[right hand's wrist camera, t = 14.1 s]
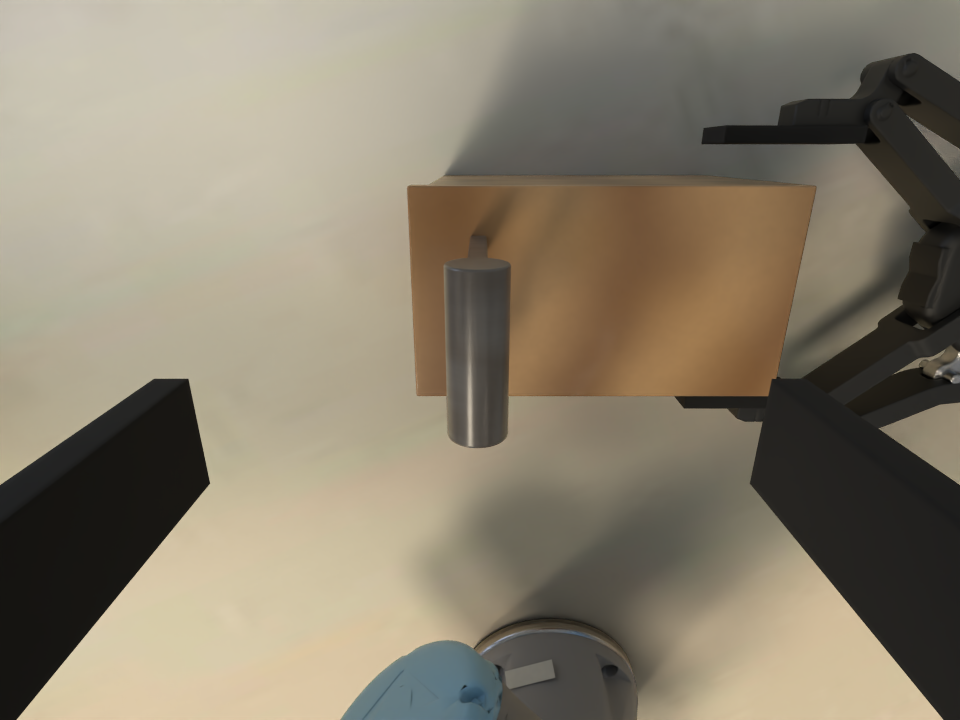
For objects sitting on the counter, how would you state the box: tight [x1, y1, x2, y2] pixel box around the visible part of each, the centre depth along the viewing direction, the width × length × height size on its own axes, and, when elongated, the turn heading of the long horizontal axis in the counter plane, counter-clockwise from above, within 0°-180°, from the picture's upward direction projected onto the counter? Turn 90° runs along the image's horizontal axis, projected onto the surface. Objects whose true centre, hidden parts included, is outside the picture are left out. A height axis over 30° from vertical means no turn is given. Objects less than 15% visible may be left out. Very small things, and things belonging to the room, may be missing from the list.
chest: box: [429, 175, 801, 185], centre depth 30 cm, size 16×10×11 cm, turn 90°
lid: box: [407, 185, 816, 448], centre depth 21 cm, size 17×10×9 cm, turn 90°
